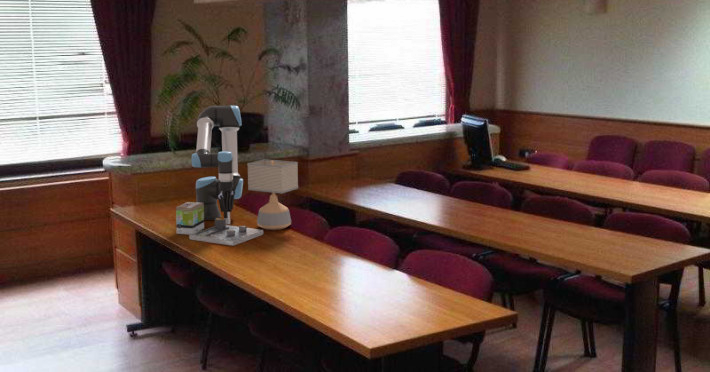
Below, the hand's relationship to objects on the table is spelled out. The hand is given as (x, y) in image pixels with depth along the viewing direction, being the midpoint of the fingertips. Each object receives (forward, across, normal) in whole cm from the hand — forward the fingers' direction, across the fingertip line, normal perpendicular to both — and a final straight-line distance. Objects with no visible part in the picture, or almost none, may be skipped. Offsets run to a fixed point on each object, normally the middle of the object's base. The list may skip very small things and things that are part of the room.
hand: (227, 223), depth 425 cm
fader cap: (+1, +6, 0) cm, 6 cm away
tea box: (+4, +10, -17) cm, 20 cm away
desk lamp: (+4, -18, +18) cm, 26 cm away
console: (+4, +11, +8) cm, 14 cm away
